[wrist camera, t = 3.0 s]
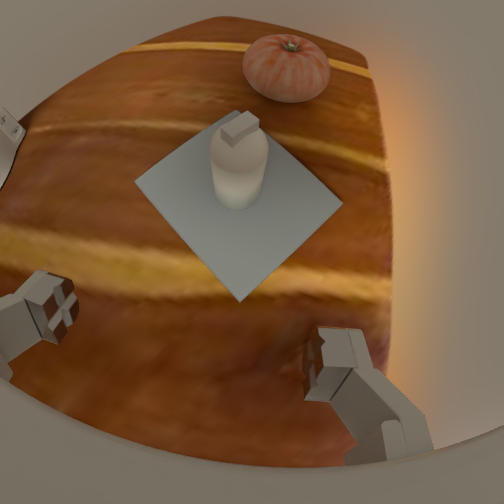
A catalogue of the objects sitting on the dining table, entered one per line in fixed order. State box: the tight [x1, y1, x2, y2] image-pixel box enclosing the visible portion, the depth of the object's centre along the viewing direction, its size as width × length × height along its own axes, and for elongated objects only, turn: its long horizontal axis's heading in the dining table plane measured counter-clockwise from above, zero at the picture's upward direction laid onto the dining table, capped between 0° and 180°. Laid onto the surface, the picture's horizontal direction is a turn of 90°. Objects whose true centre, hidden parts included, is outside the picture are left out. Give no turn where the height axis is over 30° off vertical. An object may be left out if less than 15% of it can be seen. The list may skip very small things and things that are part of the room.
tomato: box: [242, 34, 331, 103], centre depth 28 cm, size 11×11×8 cm
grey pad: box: [134, 110, 343, 302], centre depth 27 cm, size 16×14×1 cm
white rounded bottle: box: [210, 111, 269, 210], centre depth 22 cm, size 4×4×10 cm
